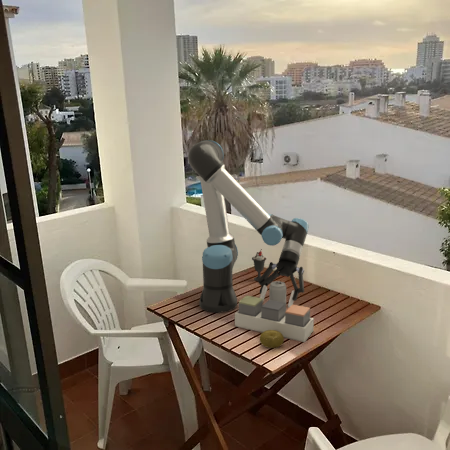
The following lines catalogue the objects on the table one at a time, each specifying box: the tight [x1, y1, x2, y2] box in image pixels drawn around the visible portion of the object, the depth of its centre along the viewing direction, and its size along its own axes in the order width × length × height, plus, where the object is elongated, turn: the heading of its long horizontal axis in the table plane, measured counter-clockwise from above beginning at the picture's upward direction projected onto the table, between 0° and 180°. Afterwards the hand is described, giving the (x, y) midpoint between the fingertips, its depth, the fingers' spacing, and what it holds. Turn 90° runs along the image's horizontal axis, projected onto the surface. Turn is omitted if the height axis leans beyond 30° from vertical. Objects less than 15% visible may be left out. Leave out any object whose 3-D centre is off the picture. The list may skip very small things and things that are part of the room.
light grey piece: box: [234, 309, 315, 343], centre depth 165 cm, size 26×9×5 cm, turn 61°
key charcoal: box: [261, 299, 287, 322], centre depth 164 cm, size 6×6×6 cm
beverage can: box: [268, 280, 287, 304], centre depth 177 cm, size 6×6×12 cm
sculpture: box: [259, 330, 285, 349], centre depth 155 cm, size 8×4×8 cm
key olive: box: [238, 295, 264, 317], centre depth 169 cm, size 6×6×6 cm
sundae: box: [251, 248, 267, 282], centre depth 213 cm, size 7×7×15 cm
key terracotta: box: [285, 303, 311, 327], centre depth 160 cm, size 6×6×6 cm
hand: (274, 304), depth 175 cm, fingers open, 11 cm apart
